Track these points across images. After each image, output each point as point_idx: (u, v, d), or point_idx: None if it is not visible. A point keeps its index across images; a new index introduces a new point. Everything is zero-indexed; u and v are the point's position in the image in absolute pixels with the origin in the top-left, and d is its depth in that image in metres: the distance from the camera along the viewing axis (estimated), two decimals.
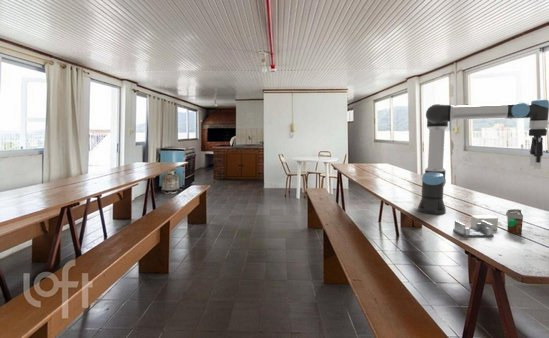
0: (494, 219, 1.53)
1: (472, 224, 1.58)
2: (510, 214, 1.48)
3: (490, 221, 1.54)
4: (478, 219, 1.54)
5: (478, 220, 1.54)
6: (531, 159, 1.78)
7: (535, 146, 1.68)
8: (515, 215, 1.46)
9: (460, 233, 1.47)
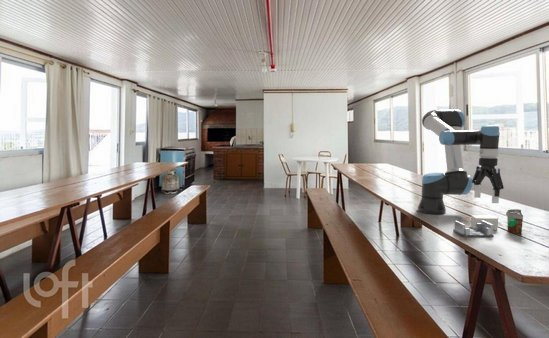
0: (494, 219, 1.53)
1: (472, 224, 1.58)
2: (510, 214, 1.48)
3: (489, 221, 1.53)
4: (477, 219, 1.54)
5: (477, 220, 1.54)
6: None
7: None
8: (515, 215, 1.46)
9: (460, 233, 1.47)
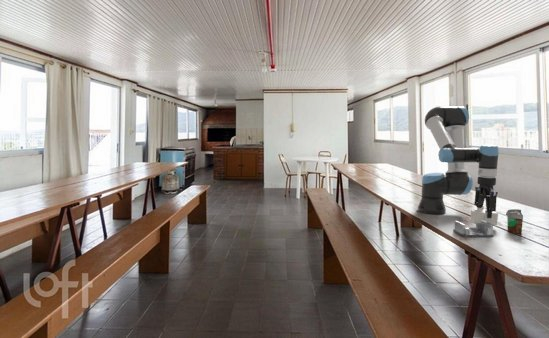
0: (494, 214, 1.53)
1: (471, 218, 1.58)
2: (510, 214, 1.48)
3: None
4: (476, 213, 1.54)
5: (476, 214, 1.54)
6: None
7: (483, 196, 1.58)
8: (515, 215, 1.46)
9: (460, 233, 1.47)
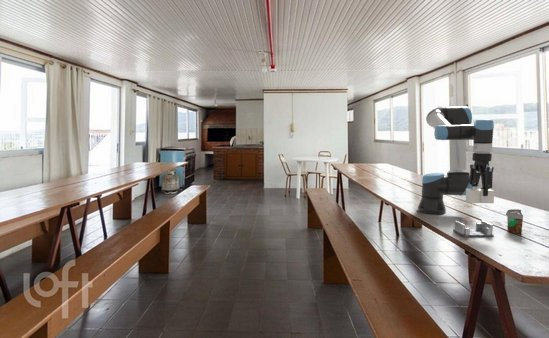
0: (490, 192, 1.46)
1: (467, 197, 1.51)
2: (510, 214, 1.48)
3: None
4: (472, 191, 1.47)
5: (472, 192, 1.47)
6: None
7: None
8: (515, 215, 1.46)
9: (460, 233, 1.47)
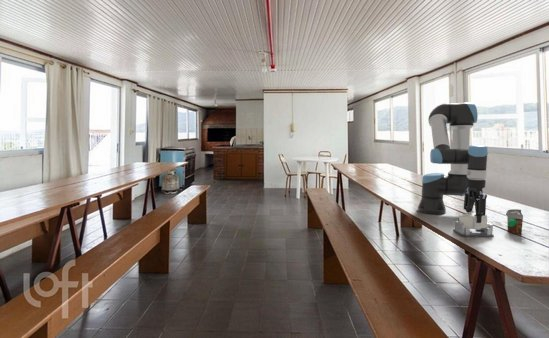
0: (483, 216, 1.44)
1: None
2: (510, 214, 1.48)
3: None
4: (465, 218, 1.45)
5: (465, 219, 1.45)
6: None
7: (473, 200, 1.49)
8: (515, 215, 1.46)
9: (460, 233, 1.47)
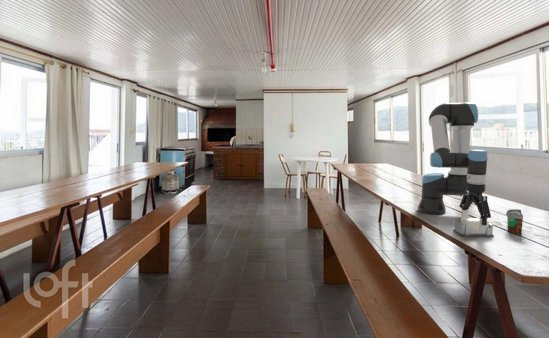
0: None
1: None
2: (510, 214, 1.48)
3: None
4: (467, 222, 1.45)
5: (467, 223, 1.45)
6: None
7: None
8: (515, 215, 1.46)
9: (460, 233, 1.47)
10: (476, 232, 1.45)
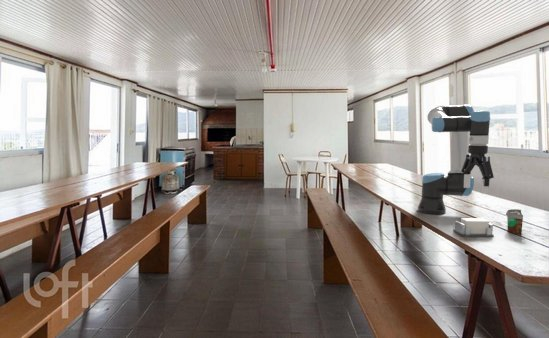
0: (485, 222, 1.44)
1: None
2: (510, 214, 1.48)
3: (480, 224, 1.45)
4: (467, 222, 1.45)
5: (467, 223, 1.45)
6: None
7: None
8: (515, 215, 1.46)
9: (460, 233, 1.47)
10: (476, 232, 1.45)
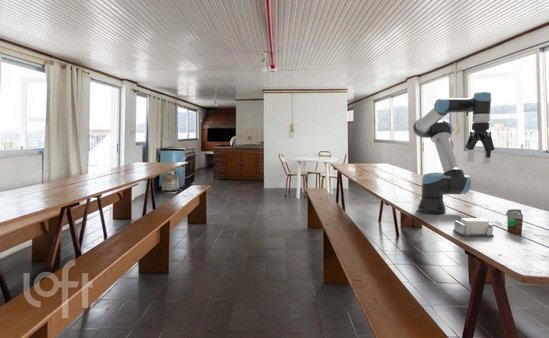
0: (485, 222, 1.44)
1: None
2: (510, 214, 1.48)
3: (480, 224, 1.45)
4: (467, 222, 1.45)
5: (467, 223, 1.45)
6: None
7: None
8: (515, 215, 1.46)
9: (460, 233, 1.47)
10: (476, 232, 1.45)
